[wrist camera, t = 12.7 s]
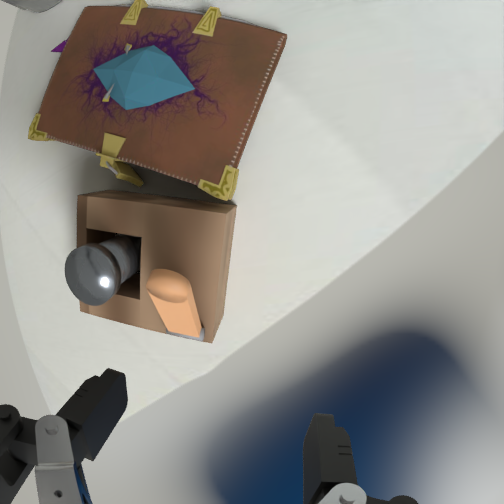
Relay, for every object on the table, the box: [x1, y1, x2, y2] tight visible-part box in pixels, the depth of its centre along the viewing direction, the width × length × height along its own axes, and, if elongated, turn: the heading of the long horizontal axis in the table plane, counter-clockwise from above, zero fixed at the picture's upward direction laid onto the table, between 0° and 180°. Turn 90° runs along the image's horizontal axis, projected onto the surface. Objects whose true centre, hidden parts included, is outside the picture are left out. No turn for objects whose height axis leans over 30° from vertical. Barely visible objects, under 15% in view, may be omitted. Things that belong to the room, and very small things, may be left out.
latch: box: [146, 269, 205, 341], centre depth 20 cm, size 3×9×1 cm
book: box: [28, 0, 287, 201], centre depth 22 cm, size 16×25×5 cm, turn 70°
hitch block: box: [77, 190, 237, 343], centre depth 25 cm, size 12×10×5 cm
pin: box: [65, 234, 142, 306], centre depth 24 cm, size 4×4×9 cm
